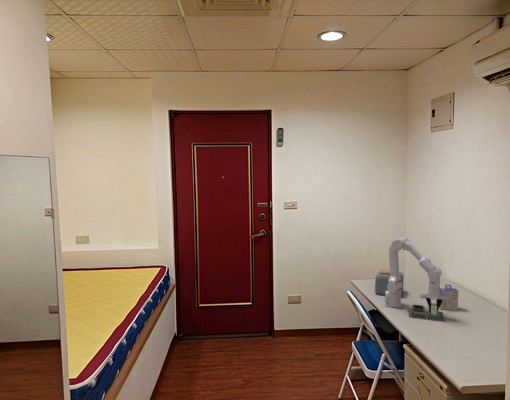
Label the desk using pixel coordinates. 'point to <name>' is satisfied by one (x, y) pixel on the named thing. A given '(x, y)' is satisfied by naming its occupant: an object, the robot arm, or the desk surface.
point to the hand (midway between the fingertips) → (433, 311)
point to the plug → (433, 309)
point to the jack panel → (424, 313)
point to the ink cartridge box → (449, 298)
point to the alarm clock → (384, 281)
